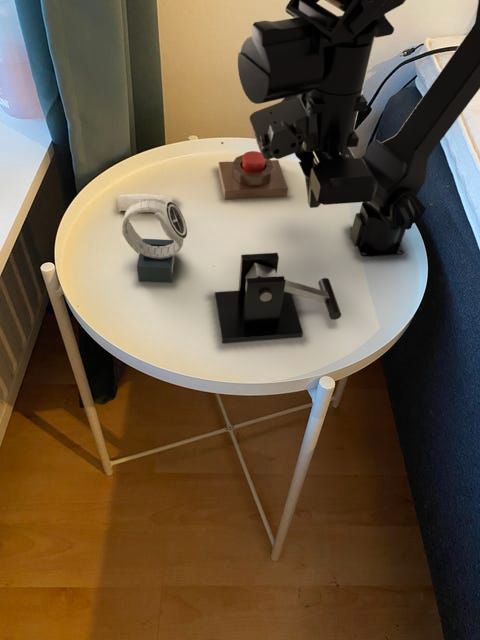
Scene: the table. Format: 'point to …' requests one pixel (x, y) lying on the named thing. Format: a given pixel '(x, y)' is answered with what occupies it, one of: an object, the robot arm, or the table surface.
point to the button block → (252, 180)
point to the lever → (302, 289)
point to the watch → (156, 252)
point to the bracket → (257, 306)
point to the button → (253, 162)
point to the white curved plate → (129, 199)
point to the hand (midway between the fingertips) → (313, 205)
